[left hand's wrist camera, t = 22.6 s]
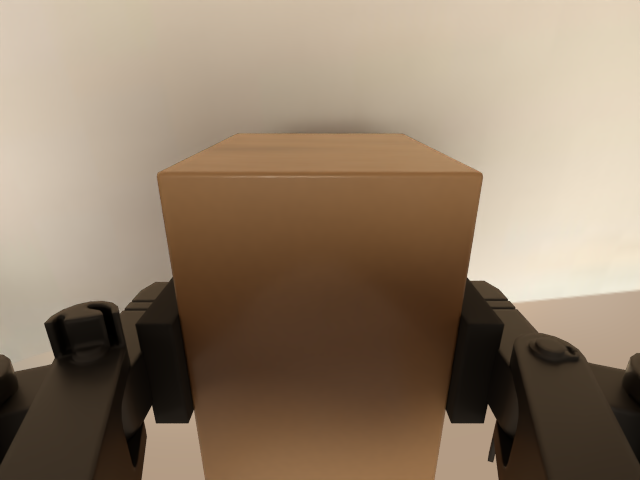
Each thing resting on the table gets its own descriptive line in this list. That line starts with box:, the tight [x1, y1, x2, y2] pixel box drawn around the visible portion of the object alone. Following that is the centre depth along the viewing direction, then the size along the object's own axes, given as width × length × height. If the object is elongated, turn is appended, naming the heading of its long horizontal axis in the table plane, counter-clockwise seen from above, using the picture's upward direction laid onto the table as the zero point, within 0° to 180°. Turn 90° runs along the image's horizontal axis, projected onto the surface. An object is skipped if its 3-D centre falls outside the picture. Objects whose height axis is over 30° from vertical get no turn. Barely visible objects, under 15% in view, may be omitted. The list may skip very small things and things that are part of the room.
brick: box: [157, 134, 483, 480], centre depth 12 cm, size 9×6×7 cm
